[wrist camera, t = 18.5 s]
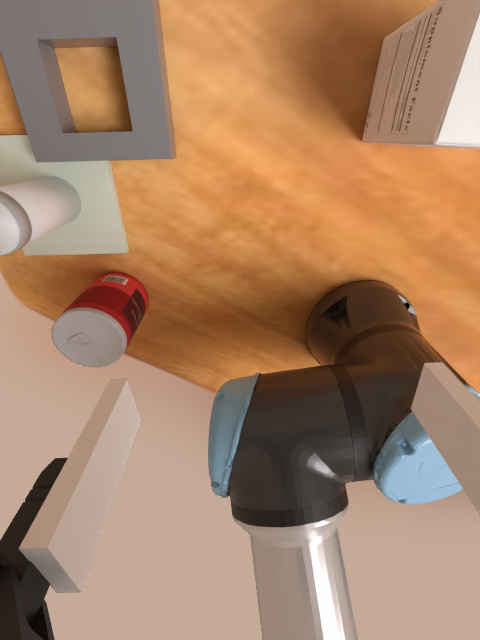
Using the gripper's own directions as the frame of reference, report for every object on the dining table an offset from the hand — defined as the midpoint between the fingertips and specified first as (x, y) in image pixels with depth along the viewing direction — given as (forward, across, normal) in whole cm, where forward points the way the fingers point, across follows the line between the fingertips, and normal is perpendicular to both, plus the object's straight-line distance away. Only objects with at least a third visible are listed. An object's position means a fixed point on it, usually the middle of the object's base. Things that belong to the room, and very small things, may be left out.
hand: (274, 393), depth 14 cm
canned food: (+29, +19, +7) cm, 35 cm away
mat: (+28, +22, -6) cm, 36 cm away
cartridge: (+27, +22, -6) cm, 36 cm away
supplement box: (+28, -17, -13) cm, 36 cm away
